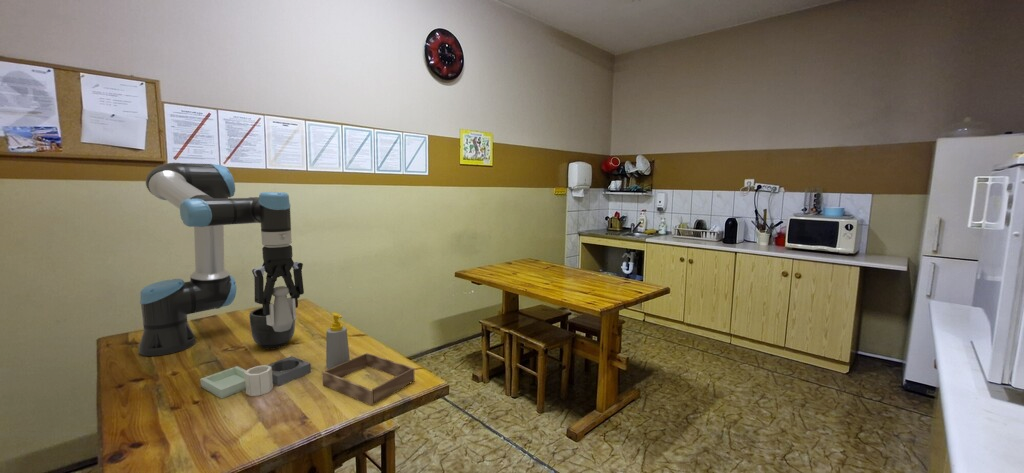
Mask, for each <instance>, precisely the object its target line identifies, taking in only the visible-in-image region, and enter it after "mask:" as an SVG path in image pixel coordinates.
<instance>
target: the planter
mask: <svg viewBox="0 0 1024 473" xmlns="http://www.w3.org/2000/svg"><path fill="white" fill-rule="evenodd" d="M273 306H274V304H273ZM249 323H250V332H251V335H252V339H253V341H254V343H255V344H256V345H257V346H260V347H261V349H265V350H275V349H276V350H277V349H279V348H283V347H284V346H286V345H287V344H288V343H289V342H290V341H291V339H293V337H294V335H295V330H296V320H293V323H292V326H291V328H290V329H289V330H287V331H283V332H276V331H274V329H273V327H272V326H270V325H267V321H266V315H264V314H263V306H262V307H259V308H258V307H257V308H256V309H253V310H251V311H250V312H249Z"/></svg>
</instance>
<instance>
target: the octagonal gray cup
mask: <svg viewBox="0 0 1024 473" xmlns="http://www.w3.org/2000/svg"><path fill="white" fill-rule="evenodd" d="M245 385H246V389H245V394H246V395H248V396H249V397H257V396H263V395H265V394H267V393H269V392H271V391H272V389H273V388H274V384H273V379H272V367H270V366H268V364H263V365H256V366H254V367H250V368H248V369H247V371H246V372H245Z"/></svg>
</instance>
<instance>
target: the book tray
mask: <svg viewBox="0 0 1024 473" xmlns="http://www.w3.org/2000/svg"><path fill="white" fill-rule="evenodd" d="M366 367H370V368H373V369H375V370H378V371H382V372H383V371H384V372H385V373H386V374H389V375H392V376H394V377H393V378H391V379H389V380H387V381H385V382H383V383H382V384H379V385H377V386H376V387H374V388H372V389H370V388H368V387H365V386H363V385H360V384H358V383H356V382H352V381H351V380H347V379H345V378H344V377H346V376H348V375H351V374H352V373H355V372H357V371H359V370H362V369H363V368H366ZM321 375H322V377H321V378H322V386H324V387H327V388H329V389H331V390H334V391H336V392H338V393H341V394H343V395H346V396H348V397H350V398H352V399H355V400H358V401H360V402H362V403H365V404H367V405H369V406H371V407H372V406H374V405H375V404H377V403H379V402H380V400H381V401H382V400H384V399H386V398H388V397H389V396H391V395H394V392H395V393H396V392H398V391H400V390H402V389H403V388H405V387H407V386H408V385H407V384H409V383H410V382H412V381H414V380H415V377H416V376H415V368H414V367H412V366H409V365H406V364H403V363H400V362H397V361H393V360H391V359H388V358H385V357H382V356H381V357H380V356H378V355H375V354H371V353H369V352H366V353H364V354H361V355H359V356H356V357H354V358H352V359H350V360H349V361H347V362H344V363H342V364H340V365H337V366H335V367H333V368H330V369H325V370H324V371H322V373H321ZM414 382H415V381H414ZM412 383H413V382H412ZM410 384H411V383H410ZM410 384H409V385H410ZM406 385H407V386H406ZM404 386H405V387H404ZM401 388H402V389H401ZM399 389H400V390H399Z"/></svg>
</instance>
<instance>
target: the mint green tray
mask: <svg viewBox="0 0 1024 473" xmlns="http://www.w3.org/2000/svg"><path fill="white" fill-rule="evenodd" d="M247 370H248V369H247ZM247 370H246V369H244V368H242V367H241V366H238V365H235V366H233V367H231V368H228V369H224V370H222V371H219V372H216V373H213V374H210V375H206V376H205V377H202V378H201V377H200V378H199V379H200V380H199V381H200V388H202V389H204V390H205V391H208V392H209V393H211V394H213V395H214V396H216V397H218V398H219V399H220V400H221V399H225V398H227V397H230V396H232V395H235V394H238V393H240V392H242V390H243V391H246V385H245V372H246V371H247Z"/></svg>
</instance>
